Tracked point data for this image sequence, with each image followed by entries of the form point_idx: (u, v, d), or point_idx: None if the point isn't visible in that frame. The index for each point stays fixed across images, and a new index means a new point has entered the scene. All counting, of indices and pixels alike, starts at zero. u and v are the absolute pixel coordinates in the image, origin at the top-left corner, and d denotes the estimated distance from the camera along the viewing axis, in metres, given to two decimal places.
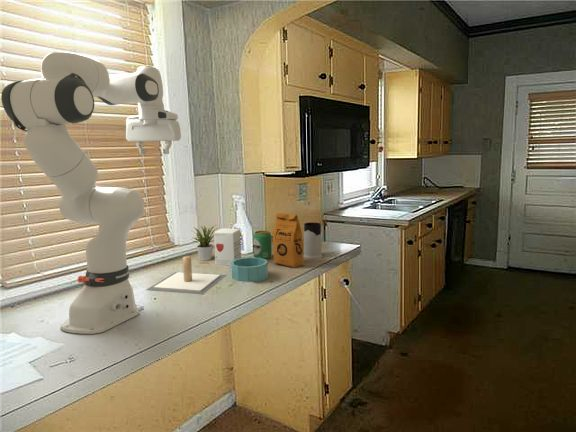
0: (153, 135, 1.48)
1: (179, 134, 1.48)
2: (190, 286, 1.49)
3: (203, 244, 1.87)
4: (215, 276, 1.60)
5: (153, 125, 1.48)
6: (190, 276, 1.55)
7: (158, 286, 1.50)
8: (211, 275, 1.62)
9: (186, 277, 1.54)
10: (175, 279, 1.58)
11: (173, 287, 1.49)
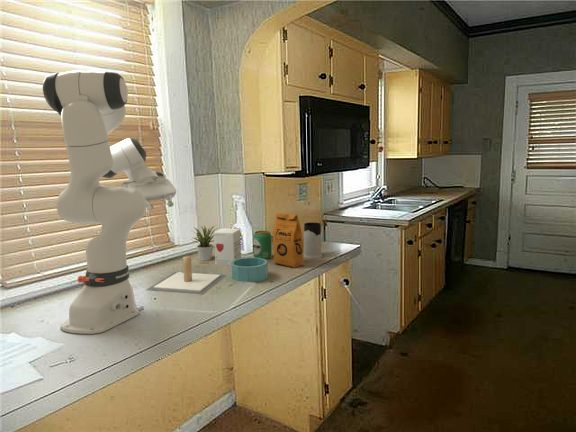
0: (157, 190, 1.60)
1: None
2: (190, 286, 1.49)
3: (203, 244, 1.87)
4: (215, 276, 1.60)
5: (153, 184, 1.61)
6: (190, 276, 1.55)
7: (158, 286, 1.50)
8: (211, 275, 1.62)
9: (186, 277, 1.54)
10: (175, 279, 1.58)
11: (173, 287, 1.49)
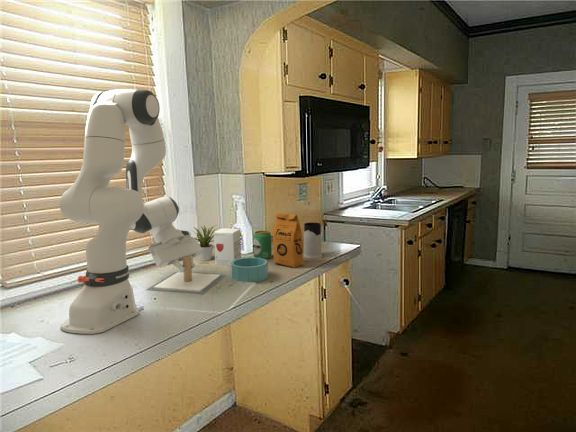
0: (184, 251, 1.57)
1: None
2: (190, 286, 1.49)
3: (203, 244, 1.87)
4: (215, 276, 1.60)
5: (179, 244, 1.58)
6: (190, 276, 1.55)
7: (158, 286, 1.50)
8: (211, 275, 1.62)
9: (186, 277, 1.54)
10: (175, 279, 1.58)
11: (173, 287, 1.49)
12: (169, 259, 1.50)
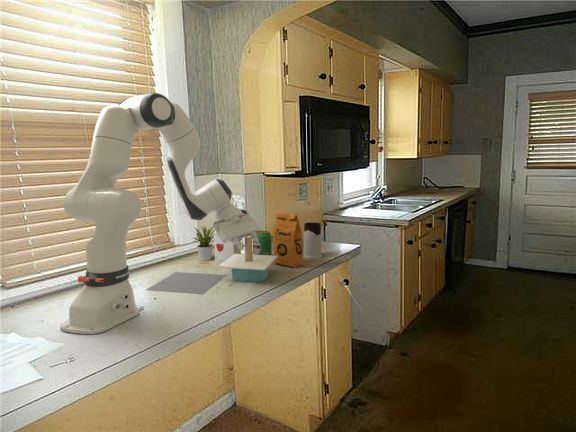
0: (244, 229, 1.63)
1: None
2: (253, 265, 1.55)
3: (203, 244, 1.87)
4: (273, 257, 1.66)
5: (239, 222, 1.64)
6: (251, 256, 1.61)
7: (222, 265, 1.56)
8: (269, 256, 1.68)
9: (248, 257, 1.60)
10: (236, 259, 1.64)
11: (237, 266, 1.55)
12: (233, 235, 1.56)
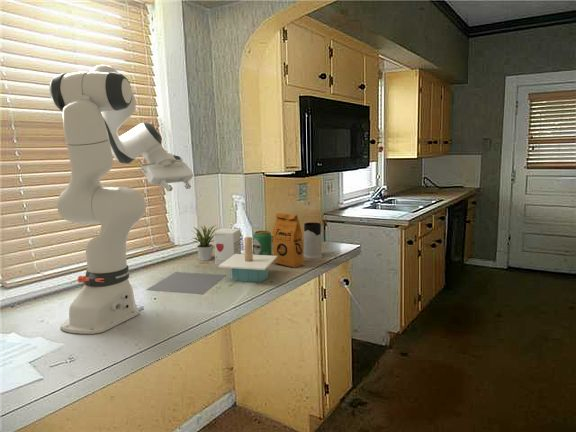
0: (175, 173, 1.63)
1: None
2: (253, 265, 1.55)
3: (203, 244, 1.87)
4: (273, 257, 1.66)
5: (170, 167, 1.64)
6: (251, 256, 1.61)
7: (222, 265, 1.56)
8: (269, 256, 1.68)
9: (248, 257, 1.60)
10: (236, 259, 1.64)
11: (237, 266, 1.55)
12: (161, 177, 1.56)
